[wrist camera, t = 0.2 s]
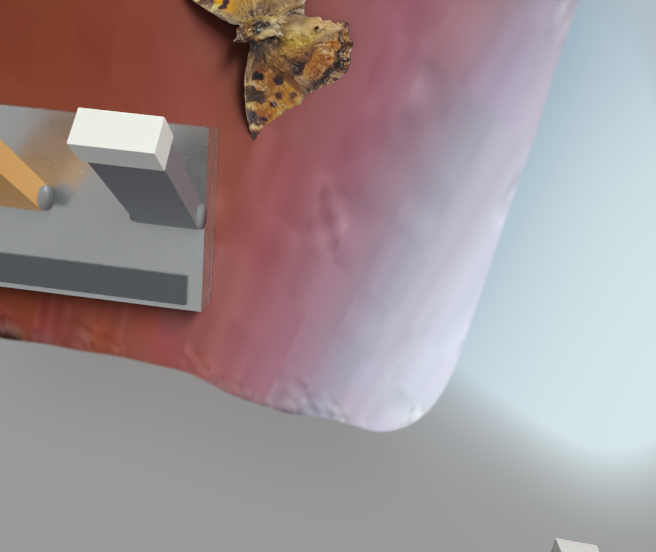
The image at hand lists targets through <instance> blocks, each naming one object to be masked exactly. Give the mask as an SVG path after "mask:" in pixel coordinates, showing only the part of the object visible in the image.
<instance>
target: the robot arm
mask: <svg viewBox="0 0 656 552" xmlns="http://www.w3.org/2000/svg"><path fill="white" fill-rule="evenodd" d="M551 552H599V550H598V548H597V546H596V545H591V544H585V543H580V542H574V541H568V540H562V539H557V538H556V539H555V542H554V545H553V548H552V551H551Z"/></svg>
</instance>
